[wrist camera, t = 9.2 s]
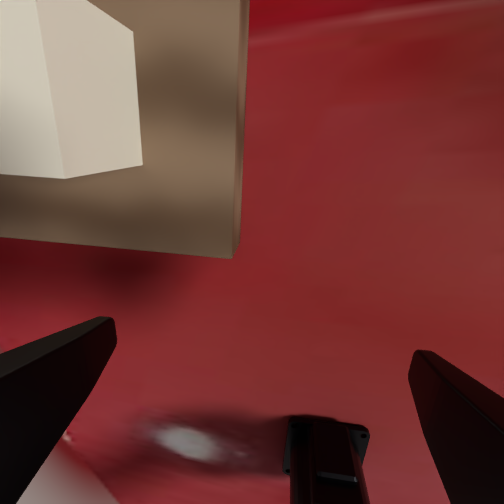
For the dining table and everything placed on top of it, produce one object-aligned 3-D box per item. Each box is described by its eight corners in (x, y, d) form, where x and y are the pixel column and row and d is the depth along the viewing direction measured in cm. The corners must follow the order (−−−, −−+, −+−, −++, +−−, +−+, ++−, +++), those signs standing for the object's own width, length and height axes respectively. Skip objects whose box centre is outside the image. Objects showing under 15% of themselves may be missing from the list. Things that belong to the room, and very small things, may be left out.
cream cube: (142, 165, 16) (65, 179, 11) (39, 158, 17) (-87, 167, 11) (132, 31, 14) (28, -40, 8) (14, 28, 15) (-157, -40, 9)
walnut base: (239, 242, 20) (231, 259, 17) (21, 222, 22) (-19, 235, 19) (252, -71, 15) (243, -120, 12) (-46, -68, 16) (-117, -112, 13)
